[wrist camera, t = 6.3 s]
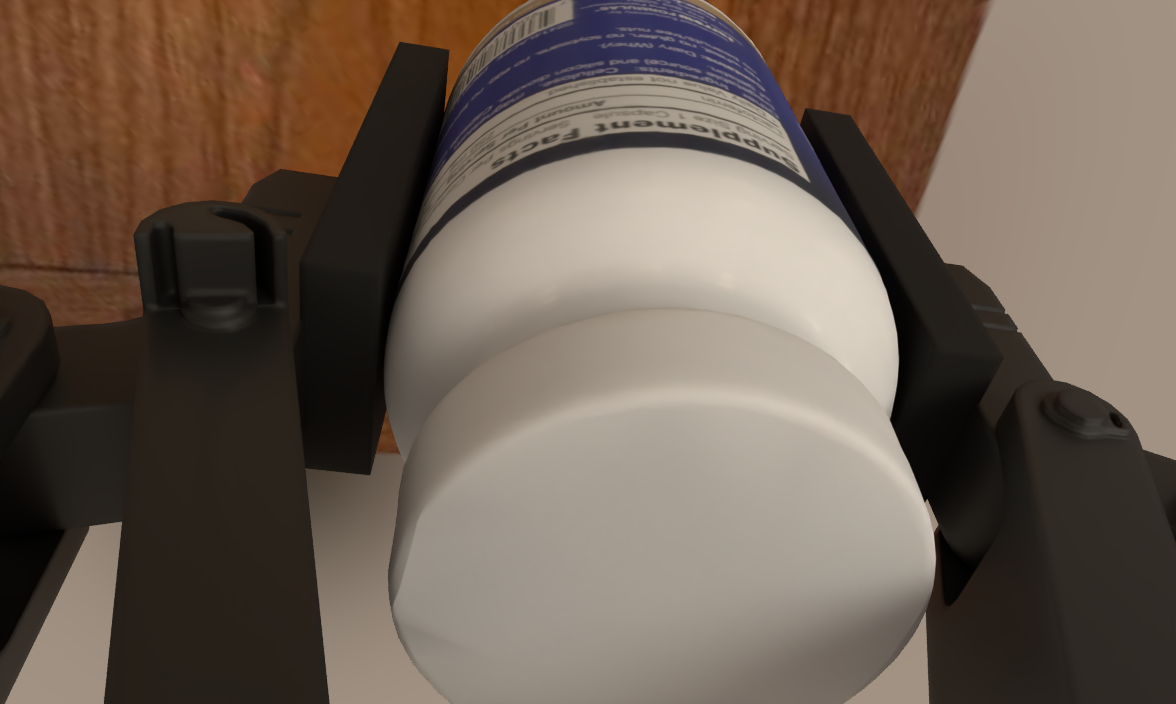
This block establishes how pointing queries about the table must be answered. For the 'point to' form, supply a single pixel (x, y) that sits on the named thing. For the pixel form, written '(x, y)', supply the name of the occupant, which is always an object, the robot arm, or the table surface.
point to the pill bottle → (643, 384)
